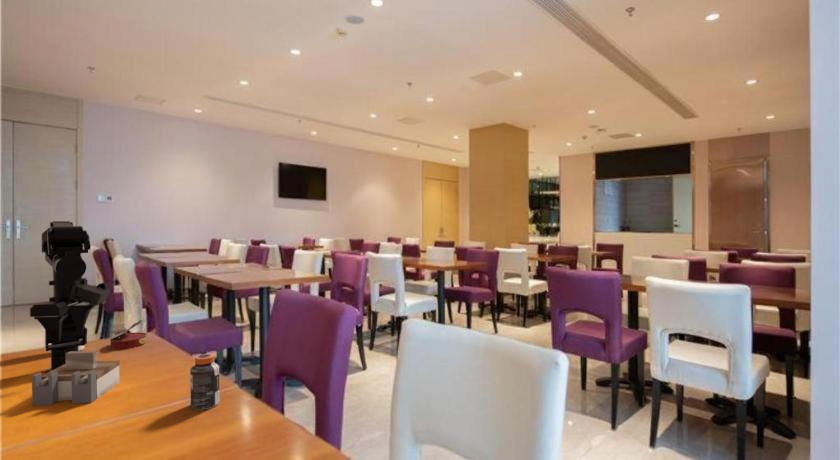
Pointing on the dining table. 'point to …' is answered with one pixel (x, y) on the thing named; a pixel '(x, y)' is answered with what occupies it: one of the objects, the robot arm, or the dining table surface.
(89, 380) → the grey notched open box
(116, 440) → the dining table surface
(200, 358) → the pill bottle
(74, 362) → the grey tabbed base plate
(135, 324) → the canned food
